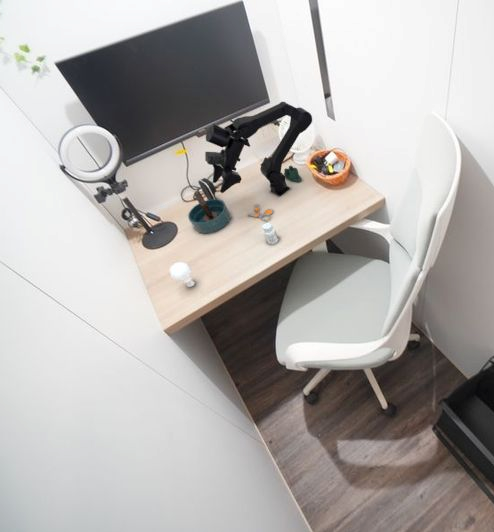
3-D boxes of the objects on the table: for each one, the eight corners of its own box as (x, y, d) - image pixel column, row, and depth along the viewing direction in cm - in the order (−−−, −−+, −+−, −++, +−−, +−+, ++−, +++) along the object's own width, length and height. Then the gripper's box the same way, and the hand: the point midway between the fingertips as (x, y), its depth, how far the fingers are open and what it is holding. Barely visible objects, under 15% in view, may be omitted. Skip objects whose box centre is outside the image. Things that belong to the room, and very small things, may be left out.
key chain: (277, 213, 135) (276, 211, 134) (264, 223, 131) (264, 221, 131) (256, 203, 140) (256, 202, 140) (244, 213, 137) (243, 212, 136)
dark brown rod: (214, 214, 138) (198, 185, 127) (222, 219, 135) (206, 190, 124) (203, 222, 135) (185, 193, 124) (210, 227, 133) (193, 198, 121)
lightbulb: (185, 279, 116) (169, 259, 107) (202, 276, 116) (187, 256, 107) (180, 293, 112) (163, 273, 103) (198, 291, 111) (182, 271, 103)
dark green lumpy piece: (304, 179, 149) (301, 170, 145) (297, 184, 147) (294, 174, 144) (289, 172, 155) (286, 162, 151) (282, 176, 153) (279, 167, 149)
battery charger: (223, 202, 144) (212, 180, 135) (216, 206, 142) (205, 185, 134) (215, 196, 147) (204, 175, 139) (208, 201, 146) (196, 180, 137)
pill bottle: (280, 238, 125) (275, 223, 119) (273, 245, 122) (267, 231, 116) (272, 235, 126) (266, 220, 120) (265, 242, 124) (258, 227, 118)
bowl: (217, 205, 143) (211, 195, 138) (238, 218, 136) (232, 207, 131) (188, 225, 136) (181, 214, 131) (208, 239, 129) (201, 228, 124)
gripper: (204, 134, 122) (190, 171, 127) (220, 153, 111) (204, 192, 116) (231, 146, 131) (217, 179, 136) (248, 164, 120) (232, 200, 125)
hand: (217, 187), depth 128 cm, fingers open, 9 cm apart
